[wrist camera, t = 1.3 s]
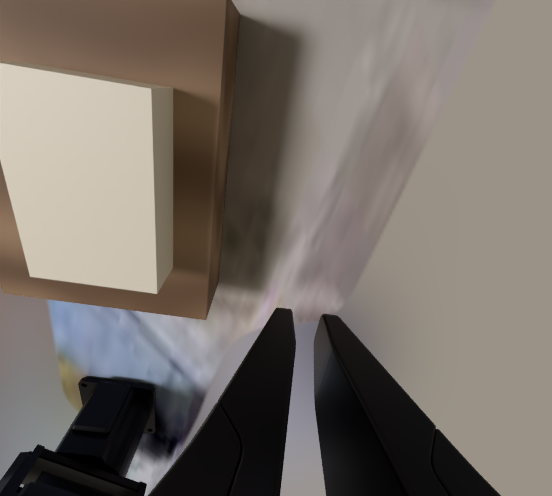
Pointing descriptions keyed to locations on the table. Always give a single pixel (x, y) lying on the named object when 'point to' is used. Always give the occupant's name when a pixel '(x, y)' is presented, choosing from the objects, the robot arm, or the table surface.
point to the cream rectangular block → (89, 175)
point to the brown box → (186, 126)
